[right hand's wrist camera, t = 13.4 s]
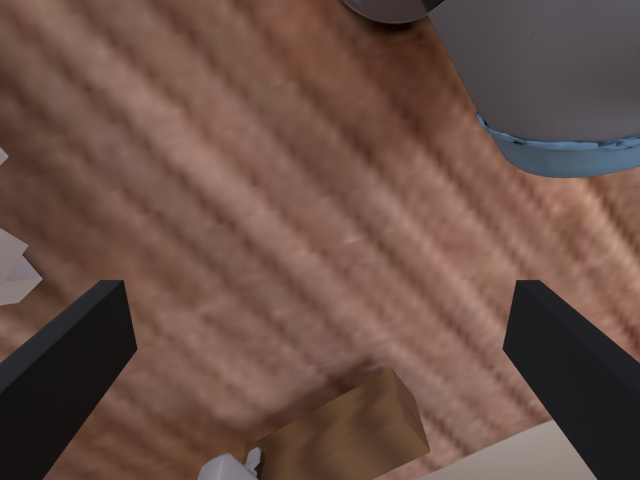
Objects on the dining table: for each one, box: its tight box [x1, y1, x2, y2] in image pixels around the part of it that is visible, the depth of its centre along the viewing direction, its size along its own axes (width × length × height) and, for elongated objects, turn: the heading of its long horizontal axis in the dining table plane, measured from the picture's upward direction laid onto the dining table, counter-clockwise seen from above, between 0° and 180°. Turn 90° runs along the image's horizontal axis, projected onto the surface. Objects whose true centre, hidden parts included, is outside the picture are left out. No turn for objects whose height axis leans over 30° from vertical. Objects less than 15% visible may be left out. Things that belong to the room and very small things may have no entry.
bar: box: [243, 368, 430, 480], centre depth 46 cm, size 23×6×8 cm, turn 125°
